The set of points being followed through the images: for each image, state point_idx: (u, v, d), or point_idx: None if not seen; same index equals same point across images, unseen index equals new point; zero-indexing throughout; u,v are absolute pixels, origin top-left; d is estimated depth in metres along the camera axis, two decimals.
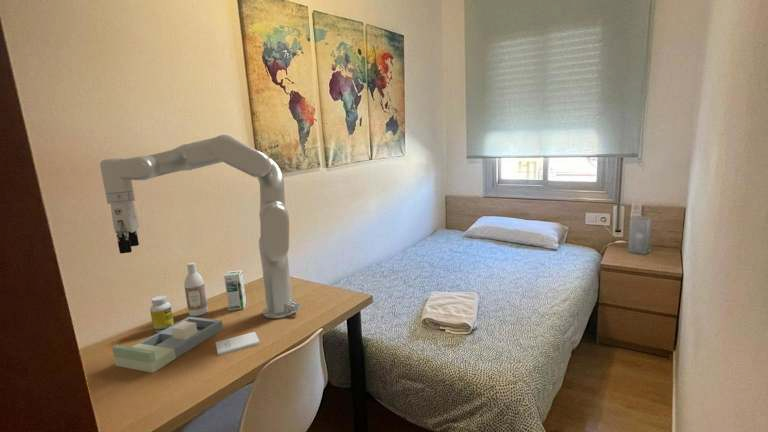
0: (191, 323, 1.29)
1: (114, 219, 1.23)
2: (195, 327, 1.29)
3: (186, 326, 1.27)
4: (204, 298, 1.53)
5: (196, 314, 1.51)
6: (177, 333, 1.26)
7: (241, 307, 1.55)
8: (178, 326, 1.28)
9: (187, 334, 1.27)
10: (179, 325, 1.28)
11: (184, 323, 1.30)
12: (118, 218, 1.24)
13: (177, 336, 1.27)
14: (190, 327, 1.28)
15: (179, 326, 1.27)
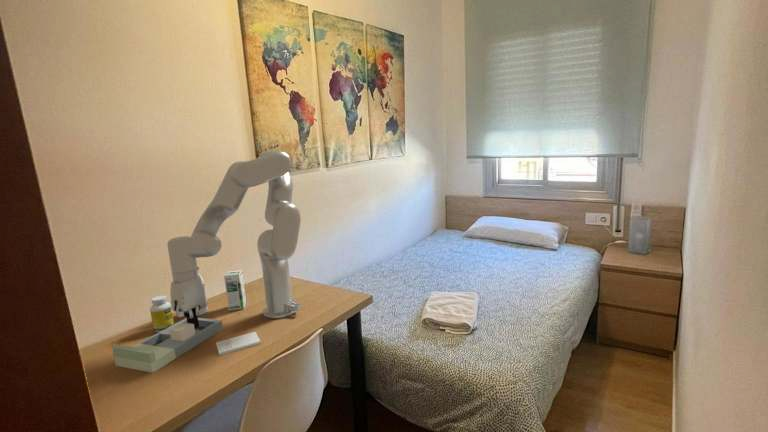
0: (189, 324, 1.28)
1: None
2: (193, 328, 1.29)
3: (183, 328, 1.26)
4: None
5: None
6: (175, 334, 1.25)
7: (241, 307, 1.55)
8: (176, 327, 1.27)
9: (185, 336, 1.26)
10: (177, 326, 1.27)
11: (182, 324, 1.29)
12: None
13: (175, 337, 1.26)
14: (188, 328, 1.27)
15: (177, 328, 1.26)
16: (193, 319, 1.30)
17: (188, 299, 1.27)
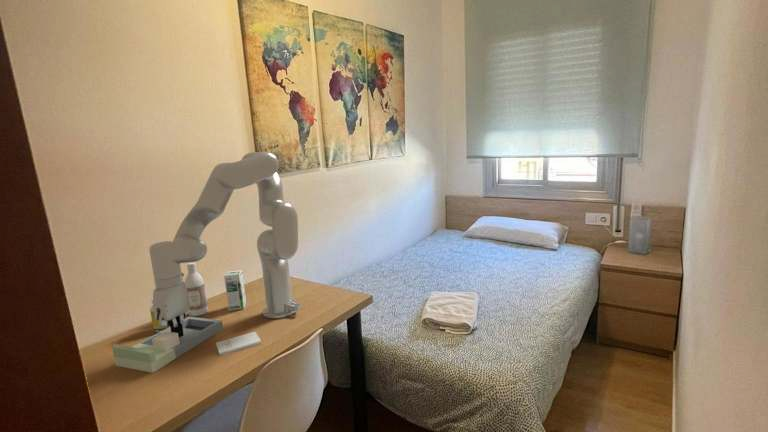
0: (173, 333, 1.23)
1: None
2: (177, 338, 1.23)
3: (167, 337, 1.20)
4: (204, 298, 1.53)
5: (196, 314, 1.51)
6: (158, 344, 1.20)
7: (241, 307, 1.55)
8: (159, 337, 1.21)
9: (168, 346, 1.20)
10: (160, 336, 1.22)
11: (165, 333, 1.23)
12: None
13: (158, 347, 1.20)
14: (171, 338, 1.21)
15: (160, 337, 1.21)
16: (177, 328, 1.24)
17: (171, 307, 1.21)
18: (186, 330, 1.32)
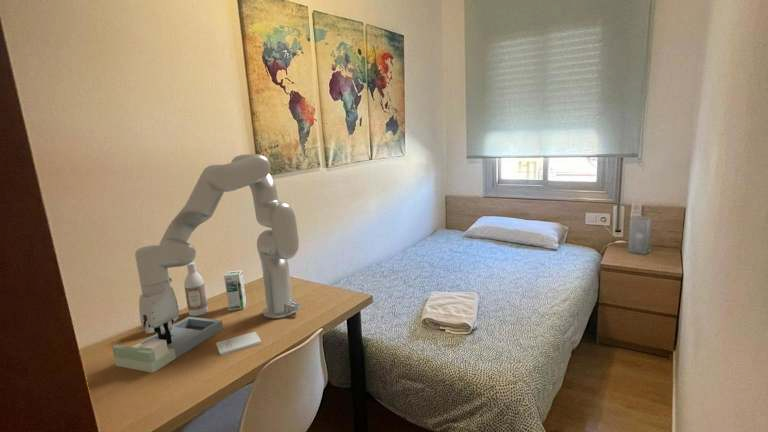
0: (161, 340, 1.18)
1: None
2: (165, 345, 1.19)
3: (154, 345, 1.16)
4: (204, 298, 1.53)
5: (196, 314, 1.51)
6: None
7: (241, 307, 1.55)
8: (146, 344, 1.16)
9: (156, 353, 1.16)
10: (147, 343, 1.17)
11: (153, 341, 1.19)
12: None
13: None
14: (159, 345, 1.17)
15: (147, 345, 1.16)
16: (165, 335, 1.20)
17: (158, 314, 1.17)
18: (186, 330, 1.32)
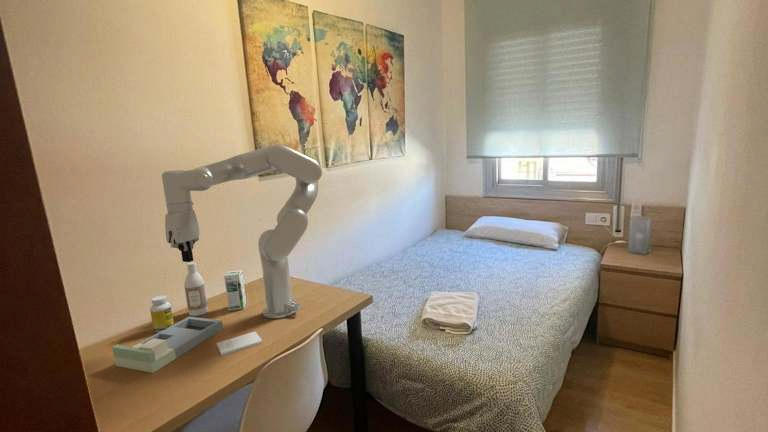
0: (161, 340, 1.18)
1: None
2: (165, 345, 1.19)
3: (154, 345, 1.16)
4: (204, 298, 1.53)
5: (196, 314, 1.51)
6: None
7: (241, 307, 1.55)
8: (146, 344, 1.16)
9: (156, 353, 1.16)
10: (147, 343, 1.17)
11: (153, 341, 1.19)
12: None
13: None
14: (159, 345, 1.17)
15: (147, 345, 1.16)
16: (187, 252, 1.33)
17: (182, 231, 1.29)
18: (186, 330, 1.32)
